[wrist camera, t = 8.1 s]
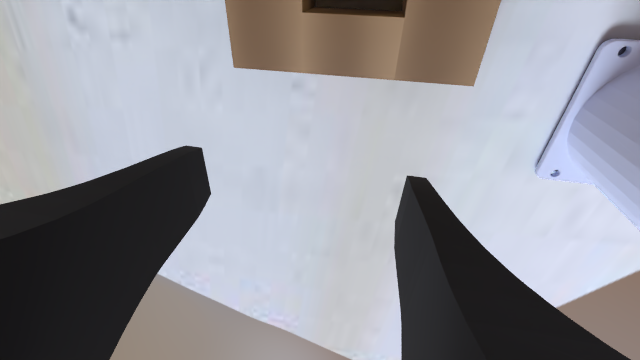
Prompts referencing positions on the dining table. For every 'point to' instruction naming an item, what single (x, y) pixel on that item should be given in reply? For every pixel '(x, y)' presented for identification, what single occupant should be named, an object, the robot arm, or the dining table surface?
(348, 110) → the dining table surface
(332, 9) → the socket
